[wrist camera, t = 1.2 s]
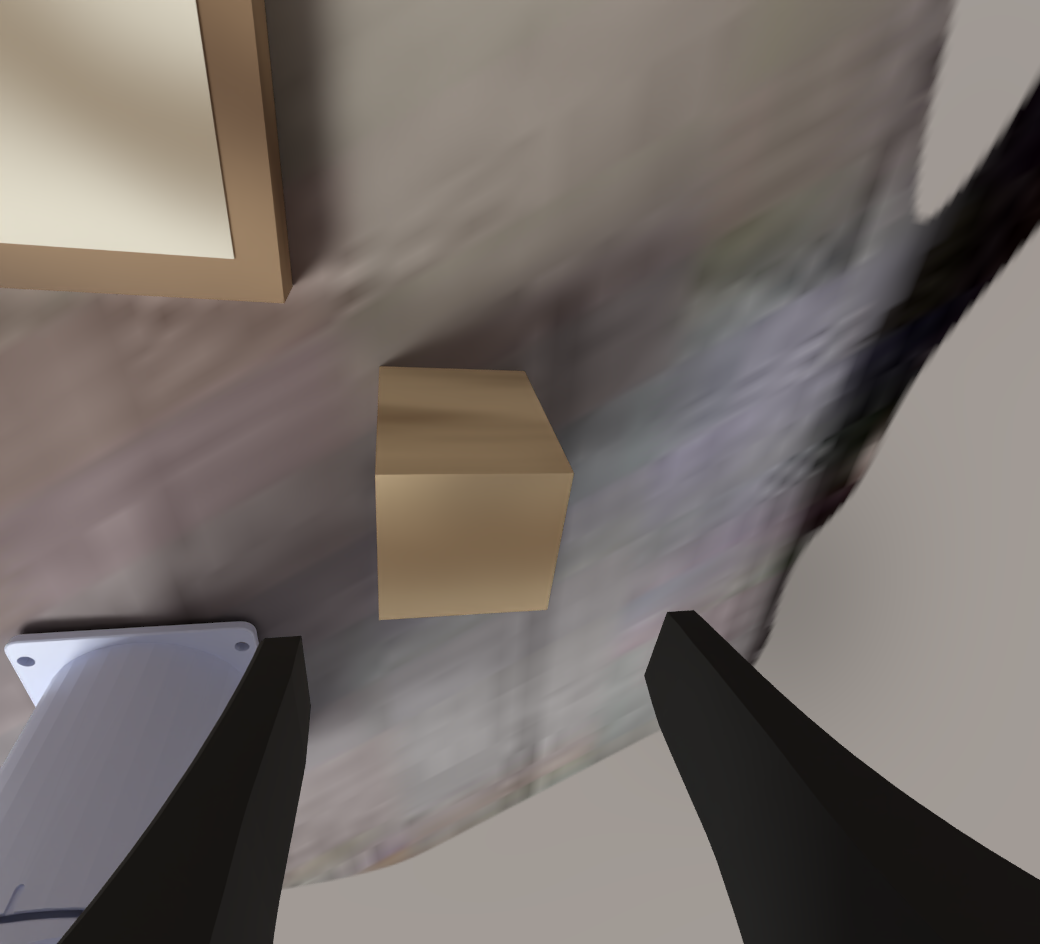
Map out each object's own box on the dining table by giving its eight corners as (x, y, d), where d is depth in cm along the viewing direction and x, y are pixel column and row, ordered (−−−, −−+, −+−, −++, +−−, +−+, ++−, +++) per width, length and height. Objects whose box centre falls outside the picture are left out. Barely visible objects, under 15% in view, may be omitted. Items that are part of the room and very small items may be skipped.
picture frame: (292, 286, 15) (284, 303, 14) (-112, 261, 13) (-164, 279, 12) (244, -202, 11) (224, -242, 9) (-399, -354, 9) (-534, -431, 7)
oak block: (509, 486, 21) (547, 609, 16) (381, 488, 20) (379, 620, 15) (524, 370, 18) (573, 473, 13) (379, 365, 17) (375, 474, 12)
